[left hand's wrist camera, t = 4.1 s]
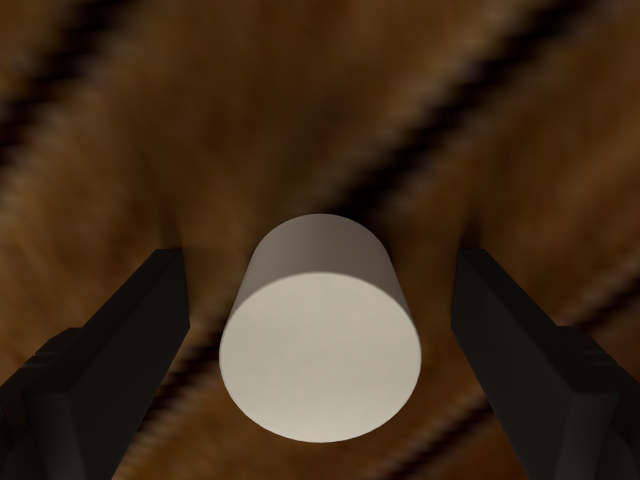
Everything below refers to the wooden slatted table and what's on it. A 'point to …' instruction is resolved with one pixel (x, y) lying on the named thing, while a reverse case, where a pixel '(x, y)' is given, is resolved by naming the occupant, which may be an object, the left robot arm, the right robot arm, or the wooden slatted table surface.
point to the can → (320, 333)
